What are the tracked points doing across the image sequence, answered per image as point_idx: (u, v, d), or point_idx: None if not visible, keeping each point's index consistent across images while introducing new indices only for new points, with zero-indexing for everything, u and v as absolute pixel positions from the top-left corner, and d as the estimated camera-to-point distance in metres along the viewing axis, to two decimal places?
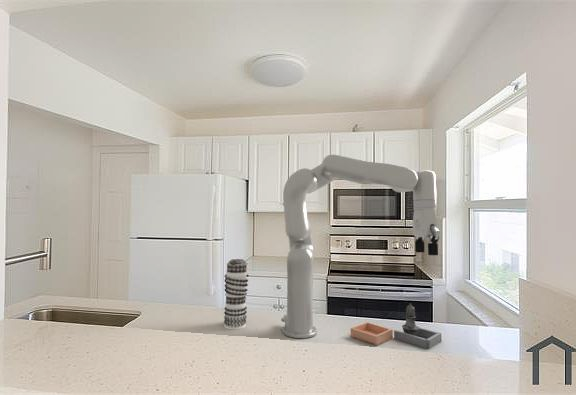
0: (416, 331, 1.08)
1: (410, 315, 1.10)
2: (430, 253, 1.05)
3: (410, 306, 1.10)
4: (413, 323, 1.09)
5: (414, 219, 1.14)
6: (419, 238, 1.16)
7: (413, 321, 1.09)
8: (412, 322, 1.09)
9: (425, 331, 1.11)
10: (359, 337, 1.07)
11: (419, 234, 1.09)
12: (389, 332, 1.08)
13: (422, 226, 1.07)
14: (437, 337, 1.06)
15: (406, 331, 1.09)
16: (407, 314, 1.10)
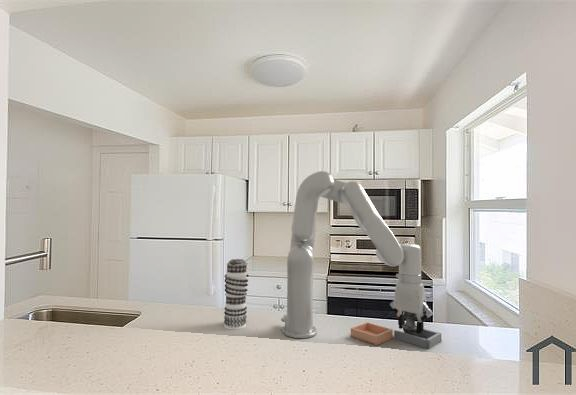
0: (416, 331, 1.08)
1: (410, 315, 1.10)
2: (419, 332, 1.07)
3: None
4: (413, 323, 1.09)
5: (399, 292, 1.11)
6: (401, 313, 1.13)
7: (413, 321, 1.09)
8: (412, 322, 1.09)
9: (425, 331, 1.11)
10: (359, 337, 1.07)
11: (410, 310, 1.08)
12: (389, 332, 1.08)
13: (416, 303, 1.07)
14: (437, 337, 1.06)
15: (406, 331, 1.09)
16: (407, 314, 1.10)
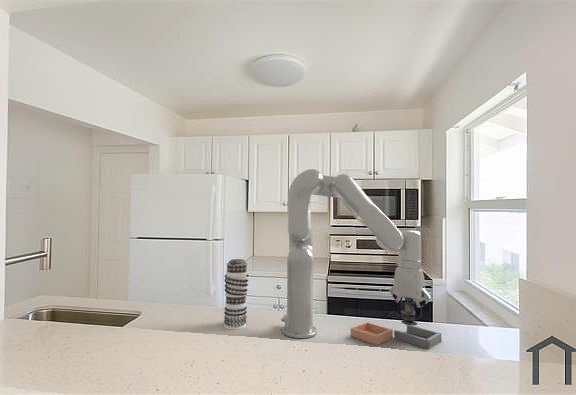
0: None
1: (409, 300, 1.10)
2: (417, 317, 1.08)
3: None
4: (412, 308, 1.10)
5: (398, 278, 1.12)
6: (400, 299, 1.14)
7: (412, 306, 1.10)
8: (411, 308, 1.10)
9: (425, 331, 1.11)
10: (359, 337, 1.07)
11: (409, 295, 1.09)
12: (389, 332, 1.08)
13: (415, 288, 1.07)
14: (437, 337, 1.06)
15: (405, 316, 1.09)
16: (406, 300, 1.11)
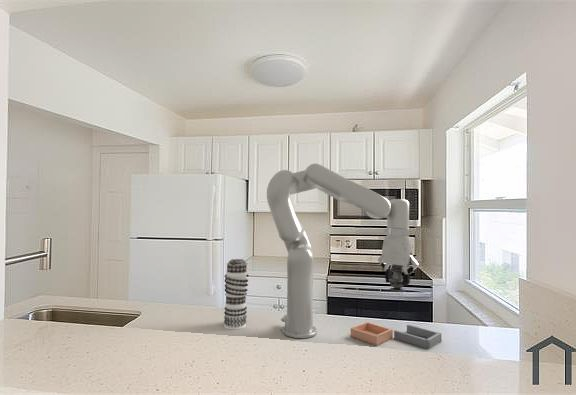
0: (402, 283, 1.09)
1: (397, 268, 1.11)
2: (405, 284, 1.08)
3: None
4: (400, 276, 1.10)
5: (387, 246, 1.12)
6: (388, 267, 1.14)
7: (400, 274, 1.10)
8: (399, 275, 1.10)
9: (425, 331, 1.11)
10: (359, 337, 1.07)
11: (396, 262, 1.09)
12: (389, 332, 1.08)
13: (403, 255, 1.08)
14: (437, 337, 1.06)
15: (392, 283, 1.10)
16: (394, 267, 1.11)
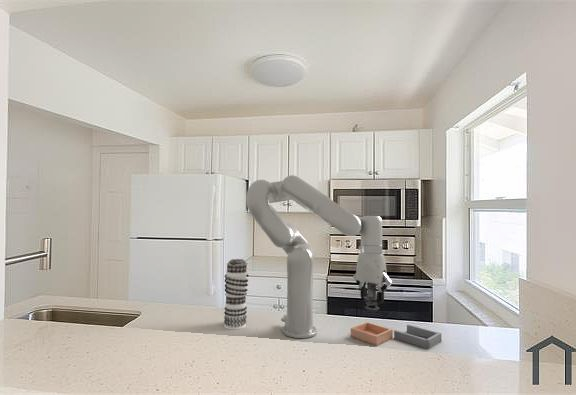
0: None
1: (371, 286, 1.09)
2: (379, 302, 1.07)
3: None
4: (374, 293, 1.09)
5: (360, 264, 1.11)
6: (363, 285, 1.13)
7: (374, 291, 1.09)
8: (373, 293, 1.09)
9: (425, 331, 1.11)
10: (359, 337, 1.07)
11: (370, 280, 1.08)
12: (389, 332, 1.08)
13: (376, 273, 1.07)
14: (437, 337, 1.06)
15: (367, 301, 1.09)
16: (368, 285, 1.10)
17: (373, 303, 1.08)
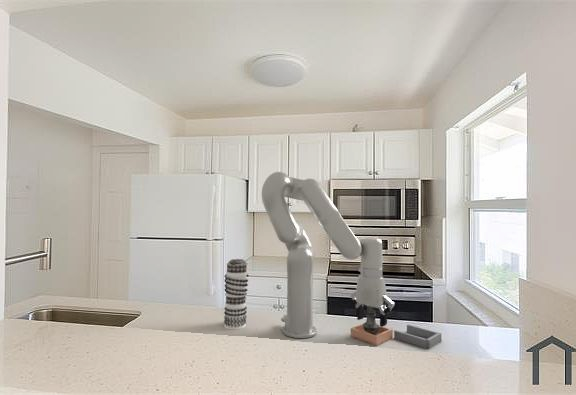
0: (376, 329, 1.07)
1: (370, 313, 1.09)
2: (382, 324, 1.06)
3: None
4: (373, 321, 1.08)
5: (360, 286, 1.11)
6: None
7: (373, 319, 1.09)
8: (372, 320, 1.08)
9: (425, 331, 1.11)
10: (359, 337, 1.07)
11: (370, 304, 1.07)
12: (389, 332, 1.08)
13: (375, 297, 1.06)
14: (437, 337, 1.06)
15: (366, 329, 1.08)
16: (367, 312, 1.10)
17: (372, 331, 1.07)
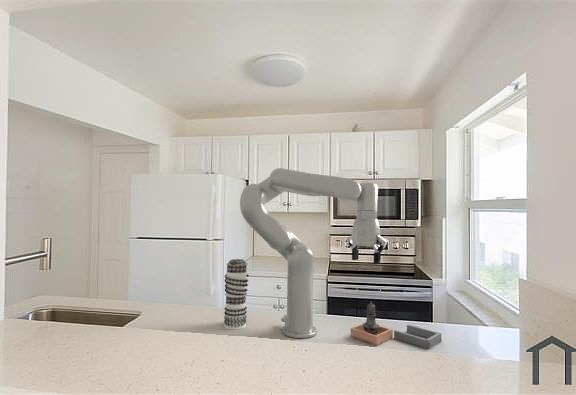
0: (376, 329, 1.07)
1: (370, 313, 1.09)
2: (375, 261, 1.11)
3: (370, 304, 1.10)
4: (373, 321, 1.08)
5: (356, 228, 1.17)
6: (355, 246, 1.20)
7: (373, 319, 1.09)
8: (372, 320, 1.08)
9: (425, 331, 1.11)
10: (359, 337, 1.07)
11: (364, 243, 1.14)
12: (389, 332, 1.08)
13: (369, 236, 1.12)
14: (437, 337, 1.06)
15: (366, 329, 1.08)
16: (367, 312, 1.10)
17: (372, 331, 1.07)
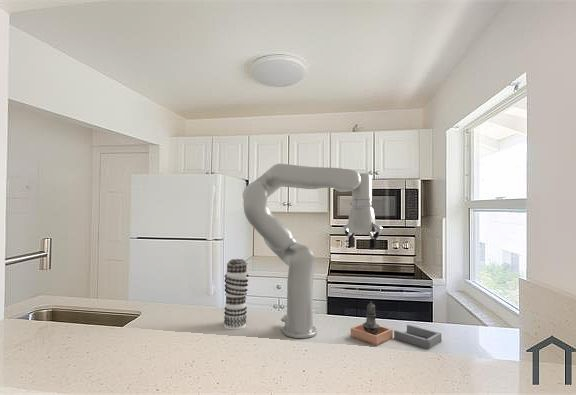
0: (376, 329, 1.07)
1: (370, 313, 1.09)
2: (372, 247, 1.17)
3: (370, 304, 1.10)
4: (373, 321, 1.08)
5: (352, 217, 1.22)
6: None
7: (373, 319, 1.09)
8: (372, 320, 1.08)
9: (425, 331, 1.11)
10: (359, 337, 1.07)
11: (360, 231, 1.19)
12: (389, 332, 1.08)
13: (365, 223, 1.18)
14: (437, 337, 1.06)
15: (366, 329, 1.08)
16: (367, 312, 1.10)
17: (372, 331, 1.07)
